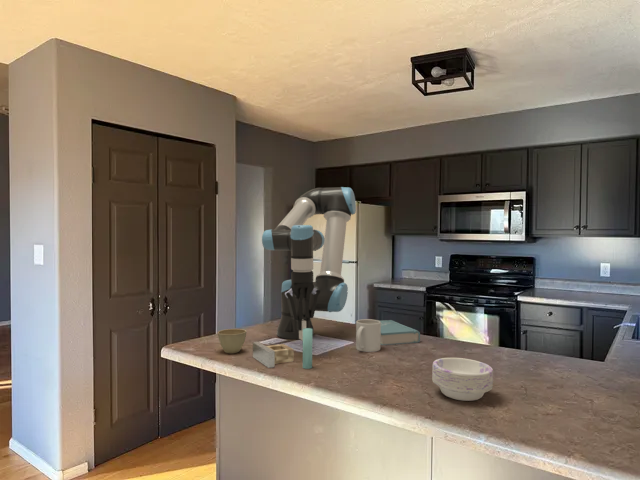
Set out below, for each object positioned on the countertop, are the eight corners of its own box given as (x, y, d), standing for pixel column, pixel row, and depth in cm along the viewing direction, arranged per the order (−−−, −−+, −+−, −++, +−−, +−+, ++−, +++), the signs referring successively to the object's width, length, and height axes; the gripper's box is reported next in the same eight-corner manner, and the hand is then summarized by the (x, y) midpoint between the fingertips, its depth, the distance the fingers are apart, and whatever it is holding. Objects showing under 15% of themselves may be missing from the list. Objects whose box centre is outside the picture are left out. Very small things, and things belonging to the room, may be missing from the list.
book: (358, 333, 193) (358, 321, 193) (392, 331, 198) (392, 319, 198) (382, 346, 171) (382, 333, 171) (420, 343, 176) (420, 330, 176)
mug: (374, 345, 171) (374, 318, 171) (385, 351, 162) (385, 323, 162) (347, 347, 168) (347, 320, 168) (357, 353, 159) (357, 325, 159)
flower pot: (249, 348, 165) (249, 328, 165) (242, 355, 155) (242, 335, 155) (222, 347, 166) (222, 328, 166) (213, 354, 156) (213, 334, 156)
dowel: (309, 365, 144) (309, 327, 144) (313, 368, 142) (314, 329, 142) (300, 366, 143) (301, 328, 143) (305, 369, 140) (305, 330, 140)
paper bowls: (505, 402, 114) (506, 370, 114) (452, 408, 110) (453, 375, 110) (469, 383, 129) (469, 355, 129) (421, 387, 124) (421, 358, 124)
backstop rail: (258, 356, 155) (258, 341, 155) (274, 367, 143) (274, 351, 142) (252, 357, 154) (252, 342, 154) (268, 367, 142) (268, 351, 141)
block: (283, 355, 156) (283, 343, 156) (293, 361, 149) (293, 349, 149) (261, 358, 152) (261, 346, 152) (270, 364, 145) (270, 352, 145)
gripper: (314, 268, 161) (314, 334, 162) (280, 270, 155) (280, 339, 156) (324, 270, 154) (324, 339, 155) (289, 272, 148) (289, 344, 149)
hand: (302, 339), depth 156 cm, fingers closed
